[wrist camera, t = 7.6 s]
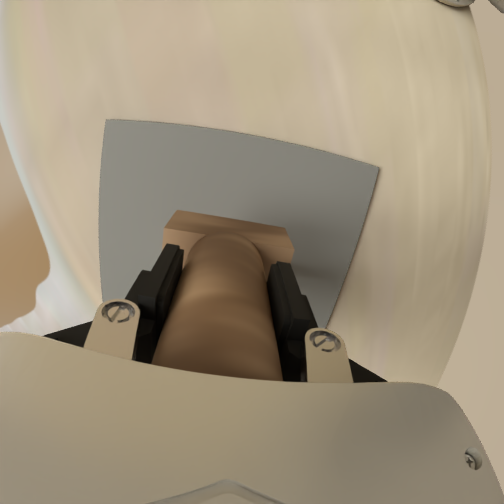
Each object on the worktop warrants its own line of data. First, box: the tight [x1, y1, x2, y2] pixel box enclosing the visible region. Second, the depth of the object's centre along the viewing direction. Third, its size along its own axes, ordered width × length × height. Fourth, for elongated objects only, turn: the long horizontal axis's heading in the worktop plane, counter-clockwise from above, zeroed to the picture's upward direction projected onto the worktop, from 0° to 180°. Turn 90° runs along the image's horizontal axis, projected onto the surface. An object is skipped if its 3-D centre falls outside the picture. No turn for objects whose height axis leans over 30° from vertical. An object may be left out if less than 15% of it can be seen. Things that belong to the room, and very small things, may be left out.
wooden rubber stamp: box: [151, 210, 294, 381], centre depth 10 cm, size 6×4×13 cm, turn 79°
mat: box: [99, 120, 379, 329], centre depth 25 cm, size 22×24×1 cm
